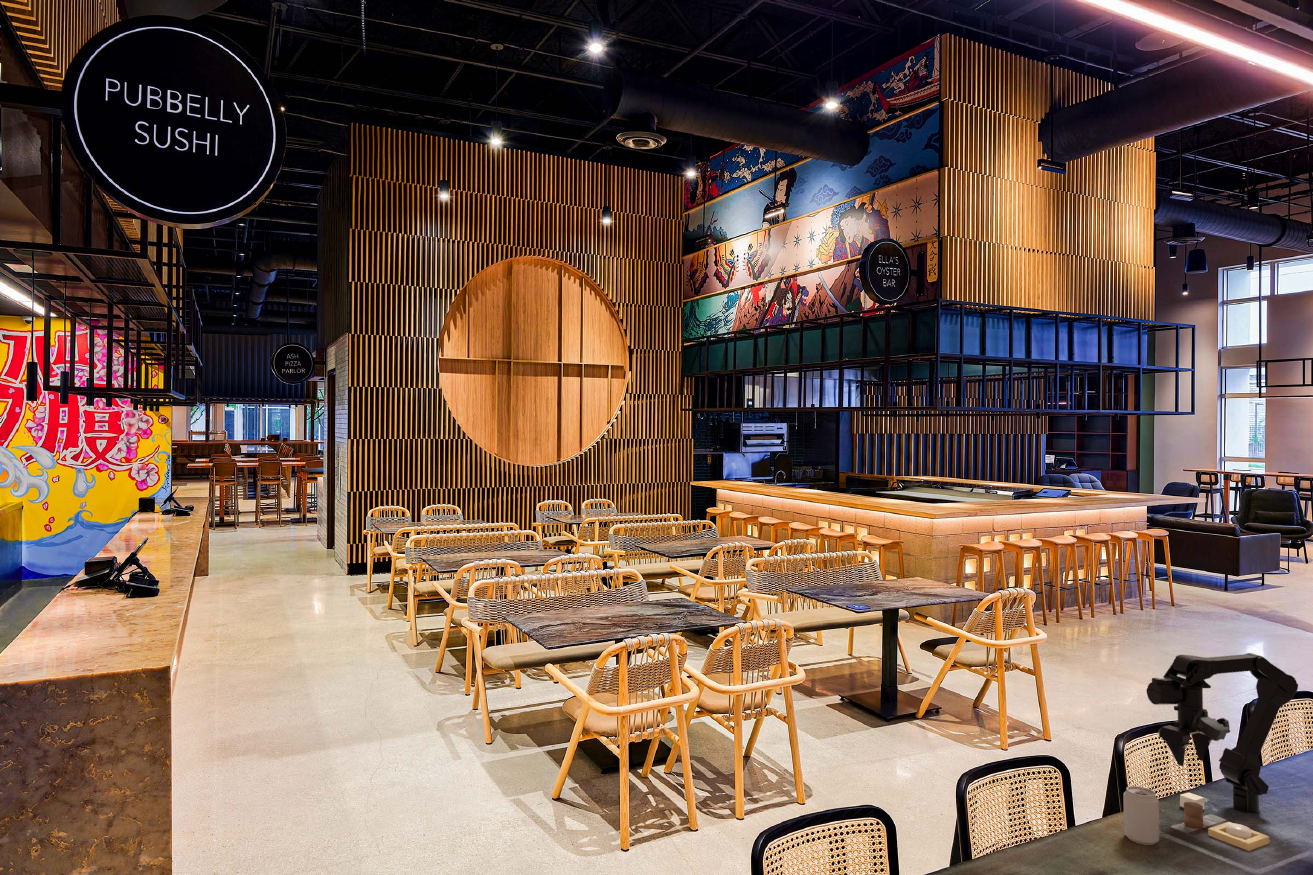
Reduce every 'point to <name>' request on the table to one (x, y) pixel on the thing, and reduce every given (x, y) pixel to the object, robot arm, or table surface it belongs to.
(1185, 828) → the makeup compact
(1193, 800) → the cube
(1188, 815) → the brown capsule
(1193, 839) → the table surface
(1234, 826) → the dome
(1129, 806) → the can
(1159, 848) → the table surface
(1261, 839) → the box
